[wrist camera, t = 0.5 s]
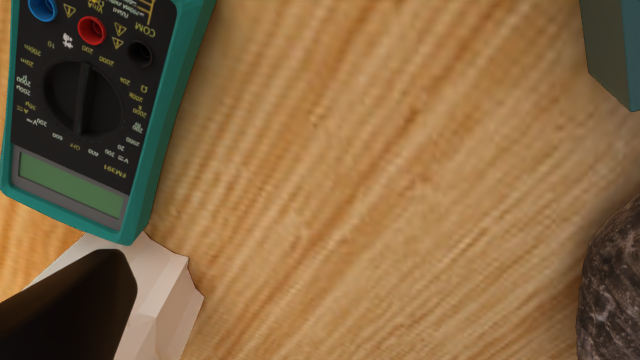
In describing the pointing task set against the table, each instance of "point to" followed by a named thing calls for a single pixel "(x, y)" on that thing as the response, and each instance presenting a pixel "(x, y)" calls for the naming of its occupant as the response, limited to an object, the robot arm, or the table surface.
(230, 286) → the table surface
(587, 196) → the table surface
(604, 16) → the toaster base
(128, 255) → the cup
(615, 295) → the seashell
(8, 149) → the digital multimeter
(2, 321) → the robot arm
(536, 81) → the table surface
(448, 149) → the table surface
